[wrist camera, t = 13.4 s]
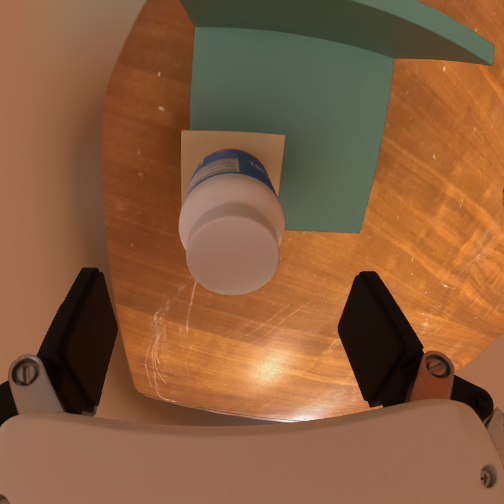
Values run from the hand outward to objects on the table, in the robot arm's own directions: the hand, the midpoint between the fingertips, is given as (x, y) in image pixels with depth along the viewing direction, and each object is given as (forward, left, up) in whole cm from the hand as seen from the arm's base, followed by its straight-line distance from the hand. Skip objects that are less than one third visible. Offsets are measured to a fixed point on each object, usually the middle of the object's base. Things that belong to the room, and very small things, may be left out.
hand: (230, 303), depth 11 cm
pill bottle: (0, 0, -12) cm, 12 cm away
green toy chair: (+4, +4, -16) cm, 17 cm away
